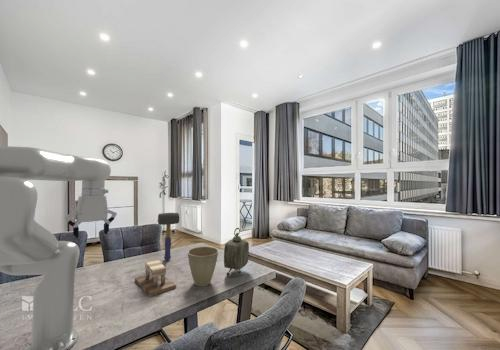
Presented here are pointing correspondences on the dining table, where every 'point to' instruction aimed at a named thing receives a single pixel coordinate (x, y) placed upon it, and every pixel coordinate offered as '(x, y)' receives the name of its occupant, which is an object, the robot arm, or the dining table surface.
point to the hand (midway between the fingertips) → (91, 235)
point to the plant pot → (202, 264)
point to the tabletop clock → (236, 253)
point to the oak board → (155, 268)
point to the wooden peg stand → (154, 284)
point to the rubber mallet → (168, 229)
